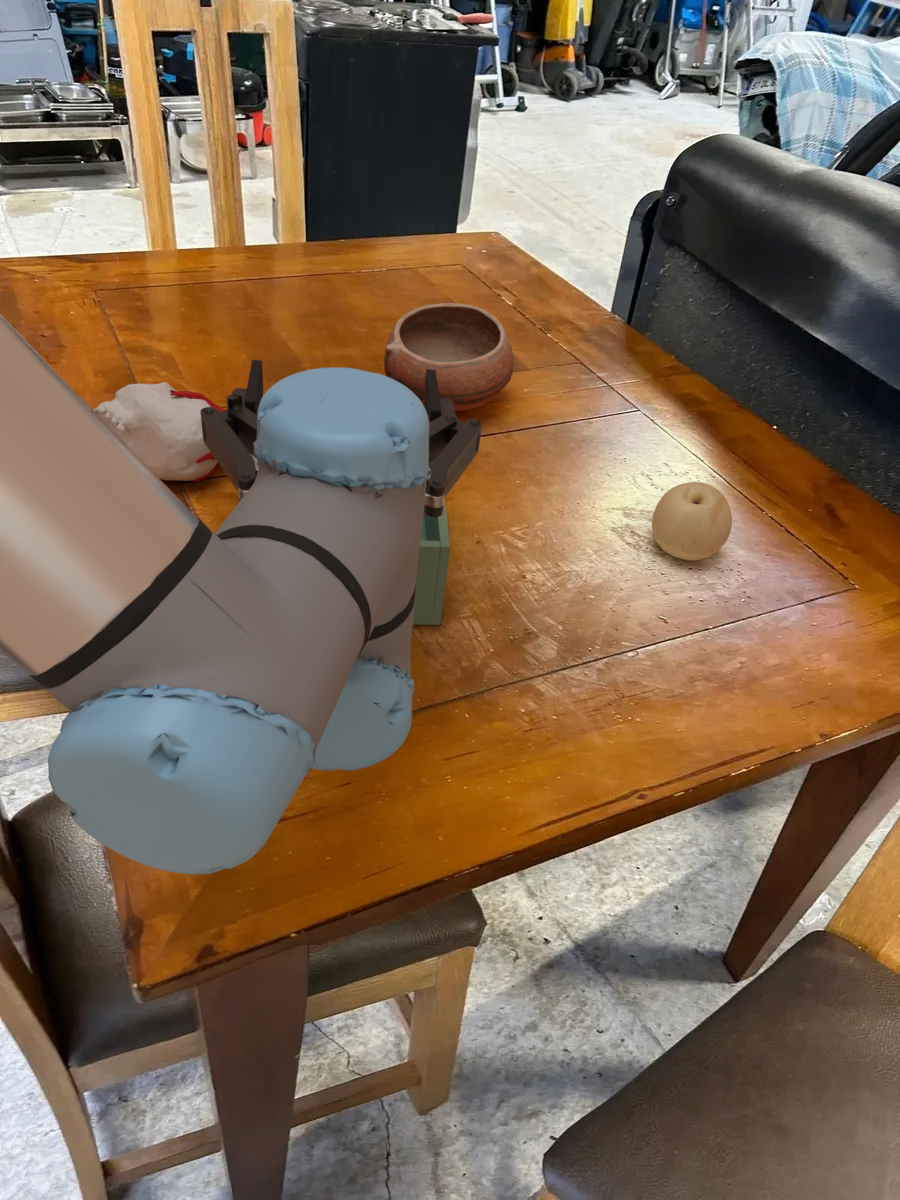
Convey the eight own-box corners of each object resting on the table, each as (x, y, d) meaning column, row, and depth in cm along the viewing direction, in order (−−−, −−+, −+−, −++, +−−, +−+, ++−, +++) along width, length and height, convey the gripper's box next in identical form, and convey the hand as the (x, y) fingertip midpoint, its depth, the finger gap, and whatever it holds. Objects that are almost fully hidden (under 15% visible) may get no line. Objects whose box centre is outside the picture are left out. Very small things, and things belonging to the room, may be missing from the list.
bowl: (359, 405, 108) (362, 327, 101) (417, 357, 119) (423, 284, 112) (476, 444, 103) (487, 365, 97) (525, 390, 115) (537, 317, 108)
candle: (90, 458, 93) (220, 436, 102) (138, 511, 87) (271, 482, 96) (86, 377, 87) (223, 361, 97) (136, 428, 81) (277, 406, 90)
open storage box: (240, 620, 78) (234, 539, 72) (259, 503, 91) (255, 426, 85) (440, 625, 80) (450, 546, 74) (429, 510, 93) (437, 435, 87)
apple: (732, 535, 94) (759, 506, 87) (684, 586, 92) (708, 560, 85) (676, 487, 95) (698, 455, 88) (628, 536, 93) (646, 507, 86)
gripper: (141, 585, 56) (188, 414, 71) (529, 594, 59) (492, 428, 75) (124, 487, 51) (178, 326, 67) (549, 502, 54) (505, 345, 70)
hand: (344, 380), depth 71 cm, fingers open, 13 cm apart
